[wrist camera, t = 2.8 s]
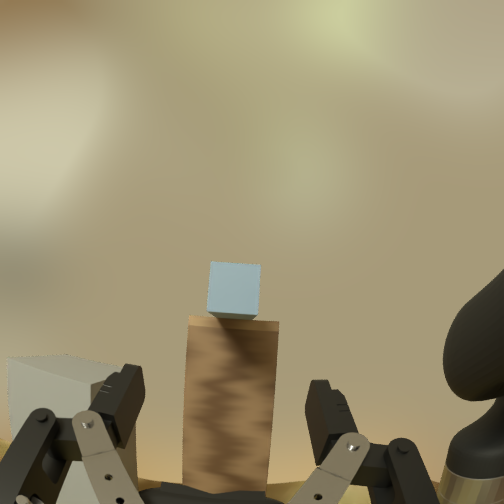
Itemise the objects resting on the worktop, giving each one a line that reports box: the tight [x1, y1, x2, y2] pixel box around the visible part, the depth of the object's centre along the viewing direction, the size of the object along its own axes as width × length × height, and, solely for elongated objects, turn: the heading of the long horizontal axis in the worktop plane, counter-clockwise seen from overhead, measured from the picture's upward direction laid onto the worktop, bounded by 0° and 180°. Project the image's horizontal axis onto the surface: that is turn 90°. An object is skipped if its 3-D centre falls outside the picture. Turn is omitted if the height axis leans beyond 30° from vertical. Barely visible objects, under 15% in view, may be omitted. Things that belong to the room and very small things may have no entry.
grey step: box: [7, 354, 139, 504], centre depth 22 cm, size 10×12×25 cm
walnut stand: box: [183, 315, 279, 496], centre depth 30 cm, size 9×10×32 cm
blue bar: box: [207, 261, 261, 320], centre depth 32 cm, size 4×24×4 cm, turn 3°
